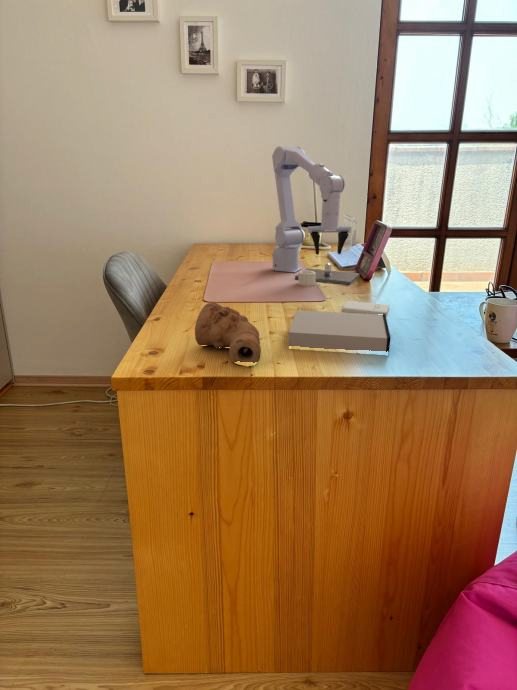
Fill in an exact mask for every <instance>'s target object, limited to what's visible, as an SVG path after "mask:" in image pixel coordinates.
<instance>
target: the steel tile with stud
mask: <svg viewBox="0 0 517 690" xmlns="http://www.w3.org/2000/svg"><path fill="white" fill-rule="evenodd" d="M303 271H314V272H316V278H315V282H319V283H320V282H322V283H329V284H331V283H333V284H339V285H340V284H341V285H352V284H353V283H354V282H356V280H357V279H358V278H359V277H360V273H358V272H347V271H339V270H337V271H336V270H332V264H331V263H330V262H327V263H325V264H324V269H317V268H306V269H304V270H303ZM294 280H299V273H298V274H296V275H295V276H294Z"/></svg>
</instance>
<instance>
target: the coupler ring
mask: <svg viewBox="0 0 517 690" xmlns="http://www.w3.org/2000/svg"><path fill="white" fill-rule="evenodd" d="M298 274H299V279H298V281H297V282H298V285H300V286H305V287H310V286H315V285H316V281H315V278H316V272H314V271H304V270H299V271H298Z"/></svg>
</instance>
